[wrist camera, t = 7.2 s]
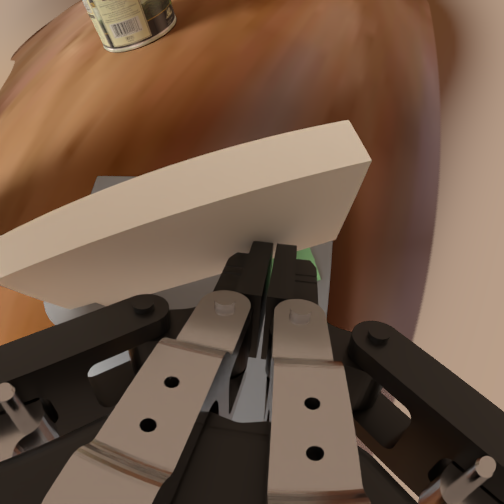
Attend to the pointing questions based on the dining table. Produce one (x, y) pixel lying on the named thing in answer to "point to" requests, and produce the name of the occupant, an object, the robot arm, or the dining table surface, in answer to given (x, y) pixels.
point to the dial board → (192, 293)
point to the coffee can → (130, 22)
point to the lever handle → (186, 220)
